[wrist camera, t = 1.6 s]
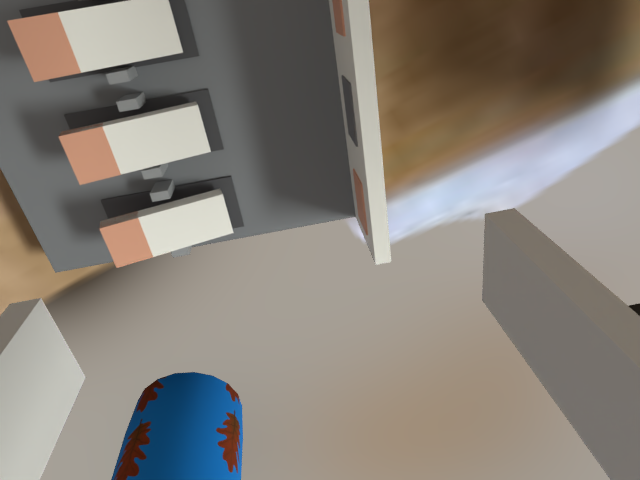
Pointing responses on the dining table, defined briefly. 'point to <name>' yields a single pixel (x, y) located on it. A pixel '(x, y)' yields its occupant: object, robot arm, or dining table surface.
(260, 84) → the switch unit
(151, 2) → the switch
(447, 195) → the dining table surface
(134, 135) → the switch
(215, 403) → the thermos
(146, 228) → the switch
